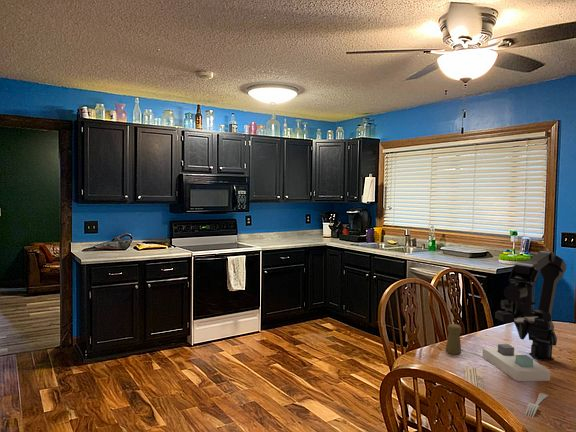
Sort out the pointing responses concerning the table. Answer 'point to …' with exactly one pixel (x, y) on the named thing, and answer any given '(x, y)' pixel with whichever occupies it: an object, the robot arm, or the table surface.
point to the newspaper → (474, 376)
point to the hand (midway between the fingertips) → (521, 339)
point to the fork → (540, 398)
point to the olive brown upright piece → (453, 339)
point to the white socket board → (516, 366)
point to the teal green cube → (524, 361)
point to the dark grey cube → (506, 349)
